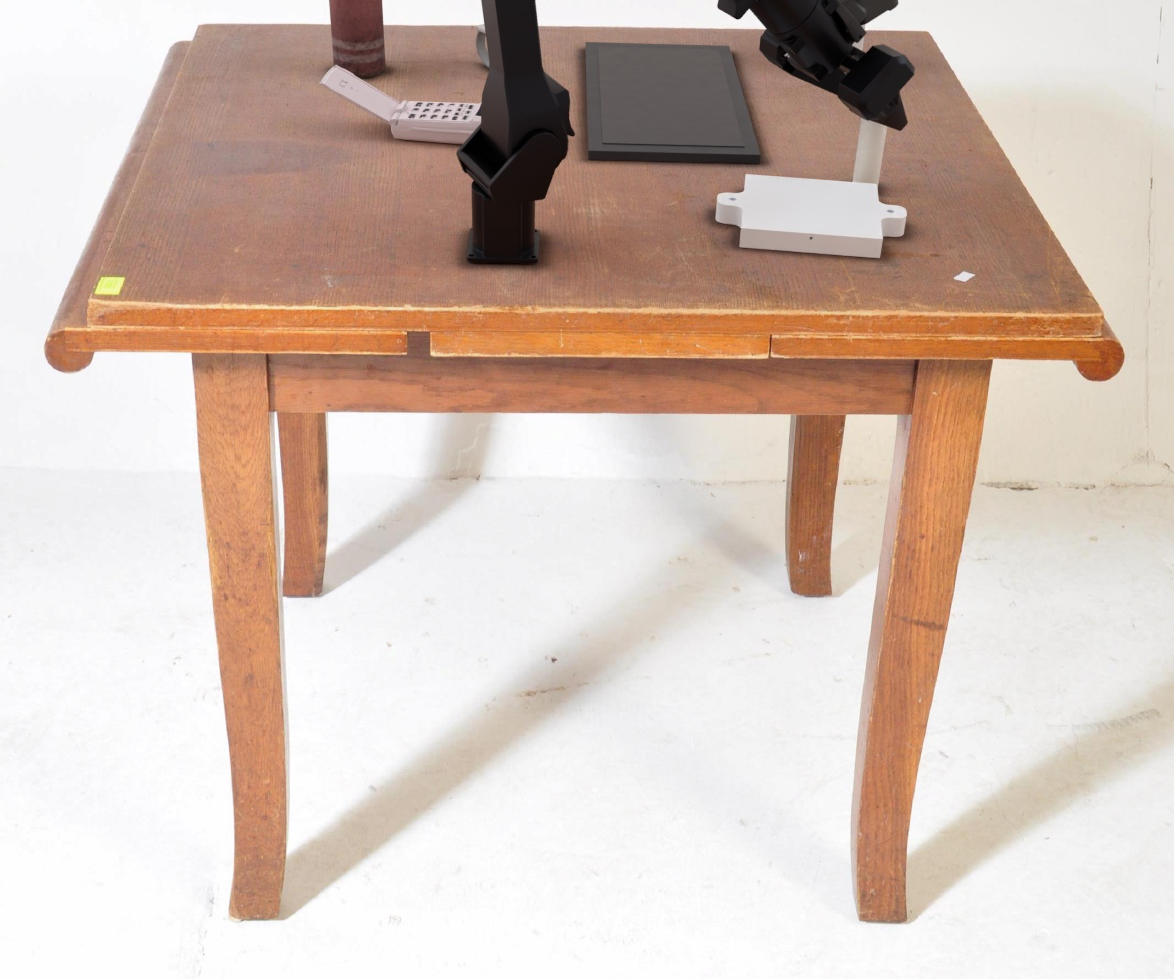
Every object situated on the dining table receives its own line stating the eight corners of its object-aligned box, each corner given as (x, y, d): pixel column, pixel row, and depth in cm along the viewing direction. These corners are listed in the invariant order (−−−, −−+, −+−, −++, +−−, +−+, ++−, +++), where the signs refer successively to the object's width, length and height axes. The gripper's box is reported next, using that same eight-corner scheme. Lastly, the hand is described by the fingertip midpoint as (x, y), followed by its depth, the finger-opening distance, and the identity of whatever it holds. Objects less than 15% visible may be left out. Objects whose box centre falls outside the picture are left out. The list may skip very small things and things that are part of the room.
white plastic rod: (879, 194, 145) (900, 56, 137) (853, 194, 145) (873, 56, 137) (874, 184, 147) (895, 48, 139) (849, 183, 147) (869, 47, 139)
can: (325, 65, 172) (316, -56, 164) (376, 60, 174) (369, -60, 166) (340, 82, 167) (331, -42, 159) (392, 75, 170) (386, -47, 162)
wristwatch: (470, 63, 174) (469, 22, 171) (488, 59, 175) (488, 18, 172) (500, 78, 170) (499, 35, 167) (518, 73, 171) (518, 31, 169)
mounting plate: (712, 245, 134) (713, 226, 133) (718, 190, 144) (720, 172, 143) (907, 260, 132) (910, 241, 131) (899, 204, 143) (902, 185, 142)
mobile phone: (331, 63, 155) (561, 78, 152) (335, 116, 158) (560, 132, 156) (315, 83, 150) (552, 99, 148) (320, 137, 153) (552, 153, 151)
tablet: (759, 164, 150) (760, 154, 150) (588, 159, 150) (588, 149, 149) (728, 53, 180) (729, 45, 179) (585, 50, 180) (585, 41, 179)
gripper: (913, -35, 123) (993, 77, 133) (798, -86, 137) (879, 19, 147) (823, 66, 124) (910, 169, 135) (719, 6, 138) (804, 103, 148)
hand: (876, 110), depth 141 cm, fingers open, 9 cm apart
